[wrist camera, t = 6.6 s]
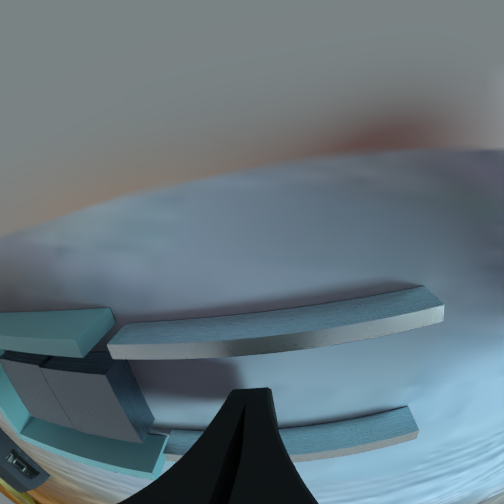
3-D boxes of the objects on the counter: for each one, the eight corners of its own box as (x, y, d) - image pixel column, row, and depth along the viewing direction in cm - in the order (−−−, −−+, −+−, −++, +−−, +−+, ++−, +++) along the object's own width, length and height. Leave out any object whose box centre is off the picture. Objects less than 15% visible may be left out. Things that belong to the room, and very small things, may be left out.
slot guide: (424, 285, 9) (444, 304, 8) (406, 414, 11) (416, 438, 9) (125, 323, 10) (106, 344, 9) (175, 436, 12) (167, 460, 11)
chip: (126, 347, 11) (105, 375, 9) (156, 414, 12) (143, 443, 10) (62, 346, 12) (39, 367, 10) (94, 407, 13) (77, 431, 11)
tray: (110, 307, 10) (75, 339, 8) (171, 444, 12) (157, 480, 10) (-17, 312, 12) (-43, 330, 9) (37, 417, 14) (20, 438, 11)
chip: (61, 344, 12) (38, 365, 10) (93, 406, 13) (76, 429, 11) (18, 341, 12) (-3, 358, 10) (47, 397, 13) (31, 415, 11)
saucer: (-7, 466, 24) (-12, 472, 22) (1, 467, 22) (-4, 474, 20) (27, 497, 26) (23, 504, 24) (41, 501, 24) (36, 509, 22)
